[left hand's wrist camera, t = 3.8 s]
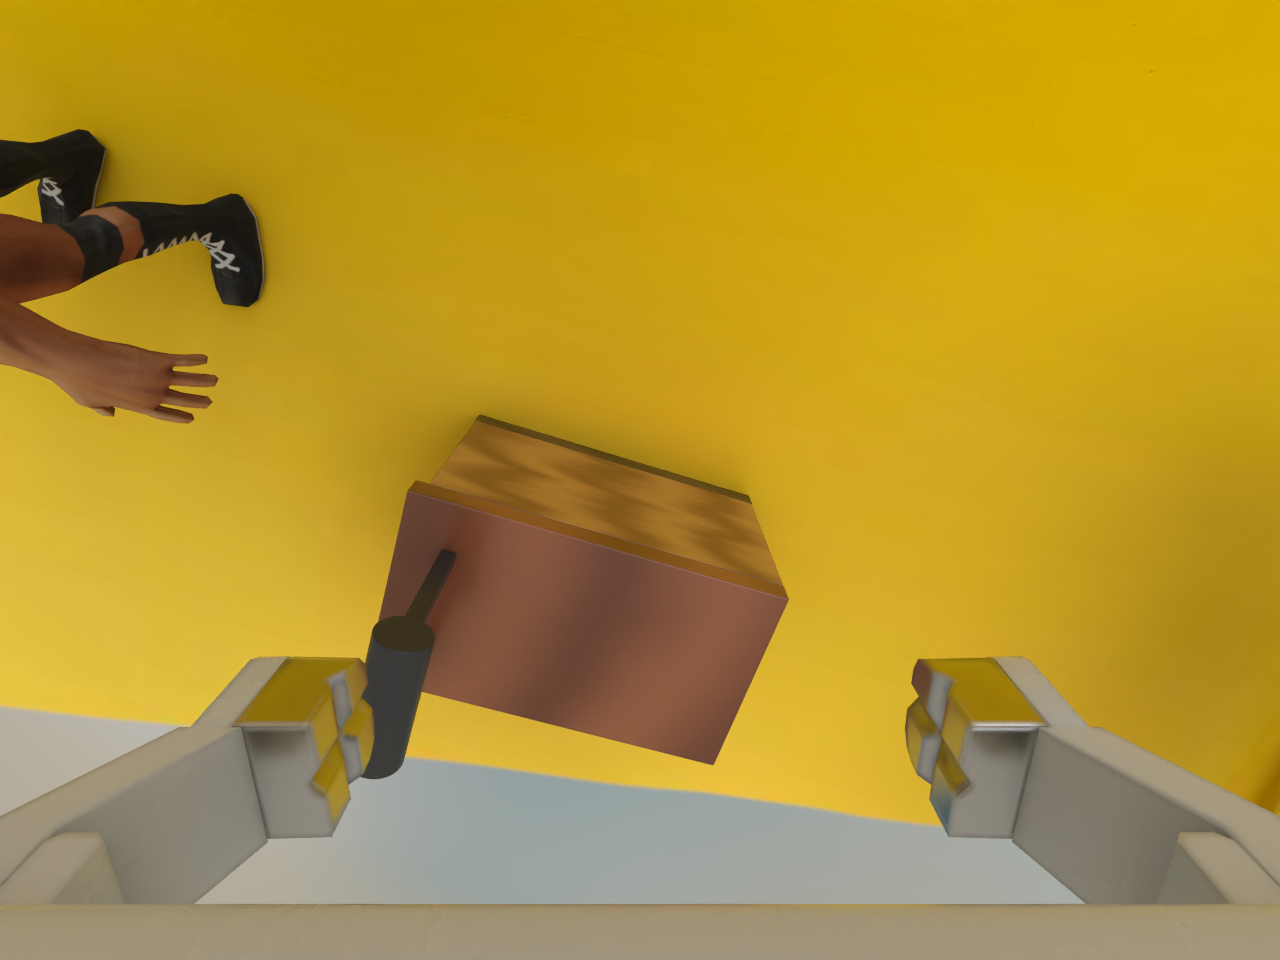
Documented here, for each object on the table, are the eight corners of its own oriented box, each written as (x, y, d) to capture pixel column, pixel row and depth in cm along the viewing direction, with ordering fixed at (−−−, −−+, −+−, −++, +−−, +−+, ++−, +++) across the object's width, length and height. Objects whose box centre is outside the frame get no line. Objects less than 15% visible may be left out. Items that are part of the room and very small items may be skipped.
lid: (374, 661, 36) (292, 807, 27) (415, 479, 32) (336, 579, 24) (710, 748, 38) (734, 908, 29) (784, 585, 34) (834, 712, 26)
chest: (442, 560, 46) (386, 664, 36) (479, 414, 43) (429, 482, 32) (694, 629, 48) (711, 747, 38) (748, 495, 45) (783, 584, 34)
